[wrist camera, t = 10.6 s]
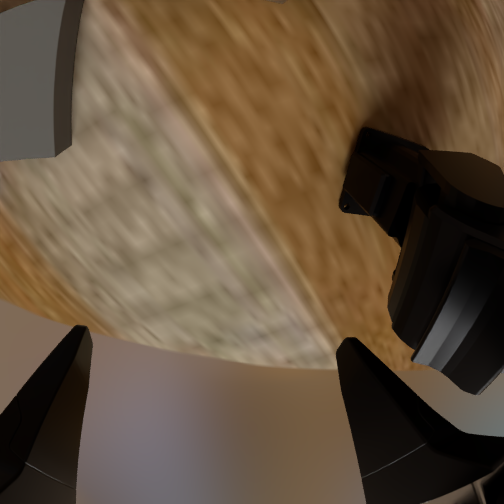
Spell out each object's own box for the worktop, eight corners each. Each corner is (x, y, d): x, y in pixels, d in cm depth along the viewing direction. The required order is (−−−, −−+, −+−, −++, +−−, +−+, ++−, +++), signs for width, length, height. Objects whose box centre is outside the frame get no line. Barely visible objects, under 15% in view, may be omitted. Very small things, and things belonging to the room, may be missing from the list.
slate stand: (84, -2, 10) (67, -9, 7) (71, 145, 15) (55, 157, 13) (-26, 34, 7) (-46, 35, 5) (-27, 155, 13) (-46, 167, 11)
